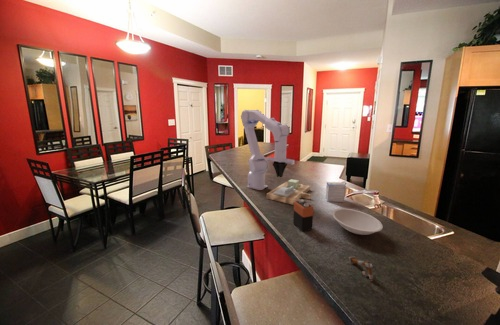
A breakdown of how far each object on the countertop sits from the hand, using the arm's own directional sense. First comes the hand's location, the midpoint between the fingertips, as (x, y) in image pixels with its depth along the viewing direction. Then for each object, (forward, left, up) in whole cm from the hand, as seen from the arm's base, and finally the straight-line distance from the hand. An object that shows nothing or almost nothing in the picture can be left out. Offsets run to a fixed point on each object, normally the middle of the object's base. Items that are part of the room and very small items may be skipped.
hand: (279, 176), depth 111 cm
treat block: (+3, +11, -10) cm, 15 cm away
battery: (+21, -23, -11) cm, 33 cm away
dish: (+38, -16, -11) cm, 43 cm away
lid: (+3, 0, -8) cm, 8 cm away
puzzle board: (+5, +6, -10) cm, 13 cm away
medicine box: (+25, +10, -11) cm, 29 cm away
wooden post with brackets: (+43, -37, -11) cm, 58 cm away
